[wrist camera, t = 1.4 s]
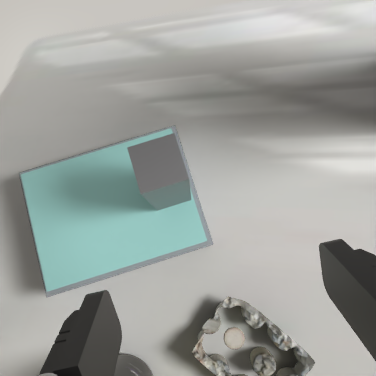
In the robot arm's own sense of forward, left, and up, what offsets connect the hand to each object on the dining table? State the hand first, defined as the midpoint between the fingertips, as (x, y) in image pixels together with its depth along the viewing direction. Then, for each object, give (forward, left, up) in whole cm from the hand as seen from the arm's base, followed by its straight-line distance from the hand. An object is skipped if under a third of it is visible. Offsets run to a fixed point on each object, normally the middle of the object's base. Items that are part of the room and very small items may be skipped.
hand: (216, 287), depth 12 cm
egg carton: (+4, +9, -26) cm, 28 cm away
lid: (+1, -11, -21) cm, 24 cm away
